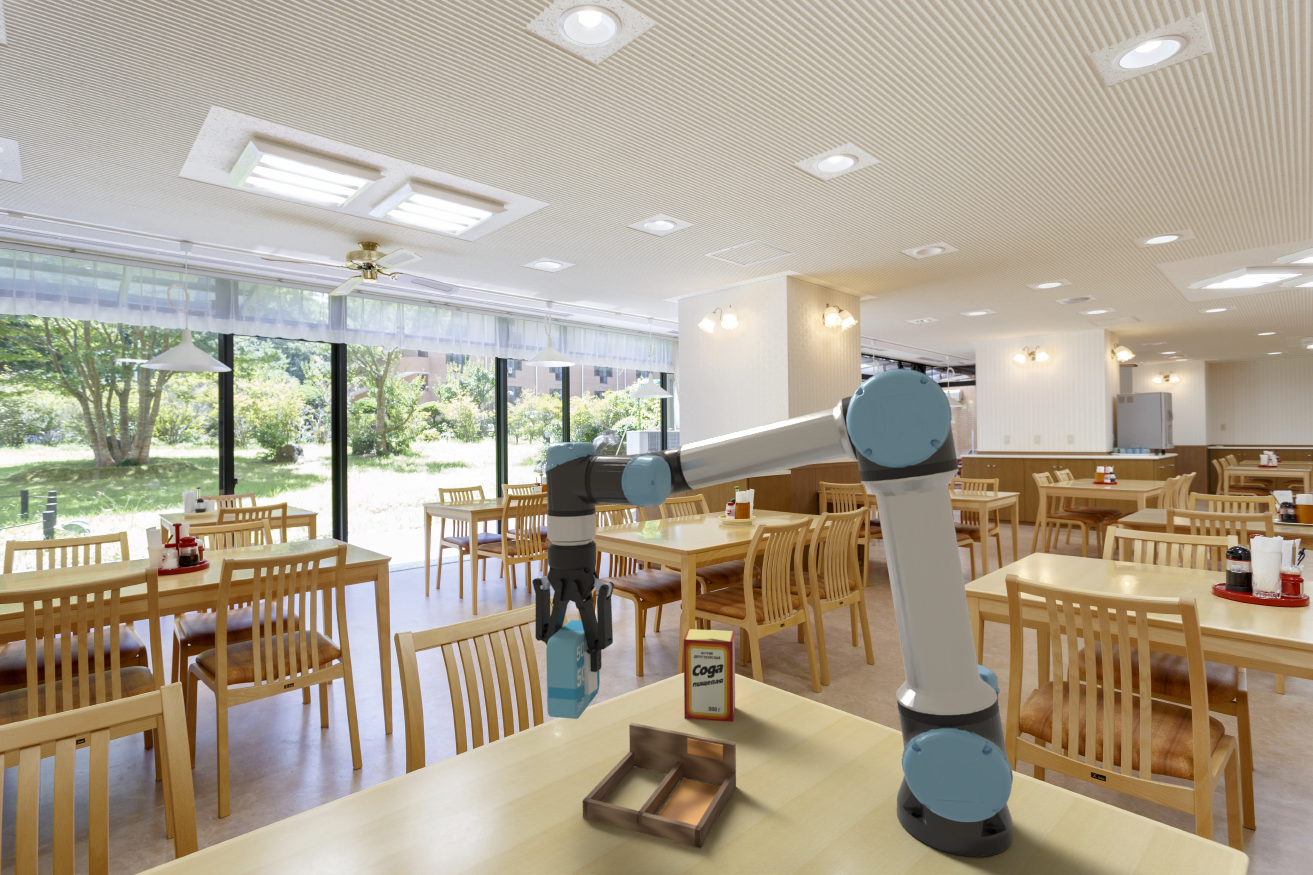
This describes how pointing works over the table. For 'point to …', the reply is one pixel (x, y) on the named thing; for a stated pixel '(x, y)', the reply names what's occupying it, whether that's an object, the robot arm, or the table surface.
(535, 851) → the table surface
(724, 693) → the baking soda box
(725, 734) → the table surface
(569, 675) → the blue rounded block
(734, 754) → the rack
